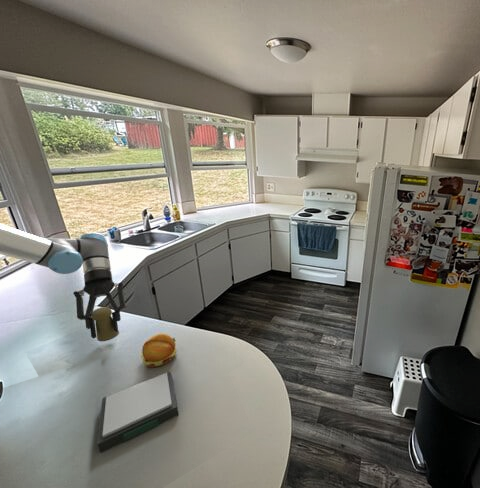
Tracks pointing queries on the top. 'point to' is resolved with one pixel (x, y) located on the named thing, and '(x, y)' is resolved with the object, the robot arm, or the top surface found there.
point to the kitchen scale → (136, 410)
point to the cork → (104, 324)
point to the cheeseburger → (158, 350)
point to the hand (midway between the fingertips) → (105, 333)
